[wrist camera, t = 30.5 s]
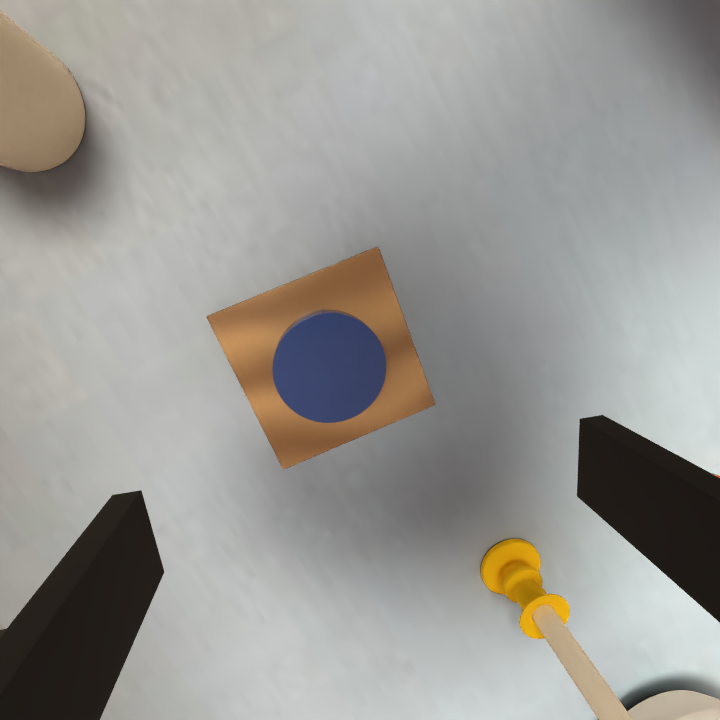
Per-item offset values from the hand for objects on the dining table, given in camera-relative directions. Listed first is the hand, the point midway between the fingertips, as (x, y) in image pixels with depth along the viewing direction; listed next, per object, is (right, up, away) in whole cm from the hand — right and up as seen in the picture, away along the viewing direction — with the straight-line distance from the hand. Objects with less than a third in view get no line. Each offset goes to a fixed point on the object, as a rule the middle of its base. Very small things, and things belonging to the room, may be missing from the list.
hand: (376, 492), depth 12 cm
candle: (+12, -14, +23) cm, 29 cm away
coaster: (-3, +4, +16) cm, 17 cm away
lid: (-2, +3, +15) cm, 15 cm away
